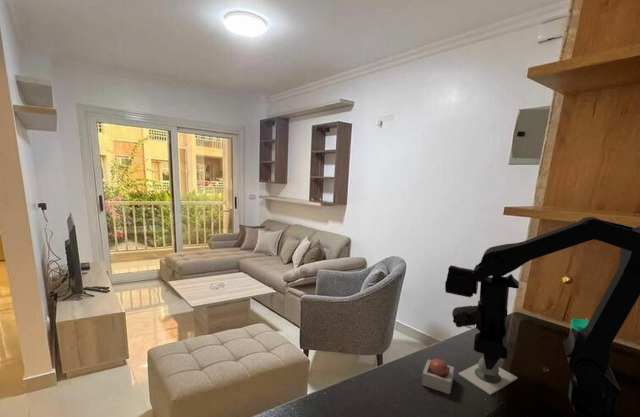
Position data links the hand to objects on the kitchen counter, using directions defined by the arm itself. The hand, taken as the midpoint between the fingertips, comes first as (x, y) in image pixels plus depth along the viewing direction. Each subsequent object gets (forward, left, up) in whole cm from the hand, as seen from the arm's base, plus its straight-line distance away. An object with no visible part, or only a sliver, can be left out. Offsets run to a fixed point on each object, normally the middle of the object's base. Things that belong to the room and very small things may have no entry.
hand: (488, 363), depth 73 cm
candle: (-21, -19, -4) cm, 28 cm away
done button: (+10, +8, -1) cm, 13 cm away
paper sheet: (0, 0, -3) cm, 3 cm away
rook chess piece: (0, 0, -2) cm, 2 cm away
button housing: (+10, +8, -3) cm, 13 cm away
